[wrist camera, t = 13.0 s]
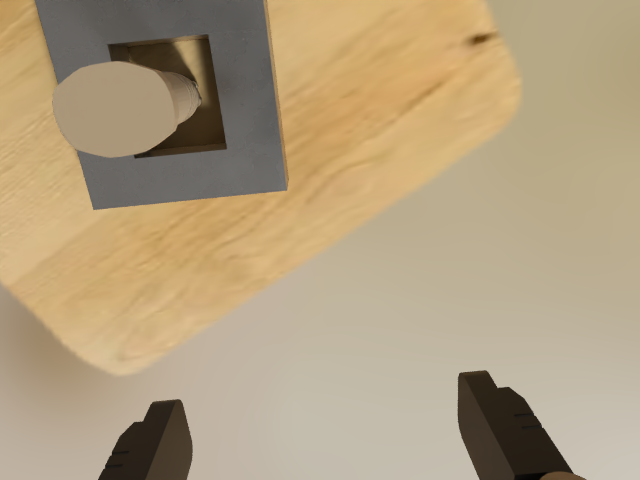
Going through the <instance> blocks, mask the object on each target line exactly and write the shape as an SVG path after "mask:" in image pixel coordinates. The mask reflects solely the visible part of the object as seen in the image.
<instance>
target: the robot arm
mask: <svg viewBox="0 0 640 480" xmlns="http://www.w3.org/2000/svg"><path fill="white" fill-rule="evenodd" d="M458 423H459V429H460V433H461V436H462V439H463V441H464V444H465V446H466V449H467V451H468V453H469V456H470V458H471V460H472V463H473V465H474V468H475V470H476V472H477V475H478V477H479V479H480V480H586V479H585V478H582V477H580V476H578V475H575V474H574V473H573V472H572V470H571V469H570V467H569V466H568V464H567V463H566V461H565V460H564V458H563V457H562V455H561V454H560V452H559V451H558V449H557V447H556V446H555V444H554V443H553V441H552V440H551V438H550V437H549V435H548V434H547V432H546V431H545V429H544V428H542V425H541V423H540V422H539V420H538V419H537V417H536V416H534V413H533V411H532V410H531V408H530V407H529V405H528V404H527V402H526V401H525V399H524V398H523V397H521V396H520V395H518V394H517V393H516V392H515V391H513V390H512V389H511V388H509V387H504V388H497V386H496V384H495V383H494V381H493V379H492V378H491V376H490V374H489V373H488V372H487V371H485V370H484V371H474V372H463V373H460V374H459V377H458ZM191 461H192V440H191V435H190V431H189V427H188V423H187V419H186V415H185V411H184V407H183V403H182V402H181V400H179V399H177V400H167V401H156V402H153V403H152V404H151V405H150V407H149V410H148V412H147V414H146V416H145V418H144V421H142V422H134V423H133V424H132V425H131V426H130V427H129V428H128V429H127V430H126V431H125V432H124V433H123V434H122V435H121V436H120V437H119V439H118V441H117V443H116V445H115V447H114V449H113V451H112V456H110V457H109V459H108V461H107V463H106V465H105V469H103V471H102V473H101V475H100V477H99V479H98V480H187V476H188V473H189V469H190V466H191Z"/></svg>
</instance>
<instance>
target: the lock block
mask: <svg viewBox="0 0 640 480" xmlns="http://www.w3.org/2000/svg"><path fill="white" fill-rule="evenodd" d="M35 3H36V6H37V10H38V14H39V17H40V21H41V24H42V28H43V31H44V35H45V39H46V42H47V46H48V49H49V53H50V56H51V60H52V63H53V67H54V71H55V74H56V78H57V81H58V85H59V84H60V83H61V82H62V81H64V80H65V79H66V78H67V77H68V76H70V75H71V74H72V73H73V72H75V71H77V70H78V69H80V68H82V67H86V66H89V65H94V64H100V63H105V62H113V61H126V62H131V61H130V57H129V53H128V48H127V47H129V46H138V45H148V44H158V43H168V42H177V41H187V40H197V39H207V38H209V42H210V48H211V54H212V60H213V66H214V72H215V78H216V85H217V91H218V97H219V103H220V109H221V115H222V121H223V127H224V133H225V139H226V143H217V144H207V145H198V146H188V147H178V148H168V149H158V150H148V151H145V152H142V153H138V154H134V155H128V156H122V157H112V158H109V157H102V156H98V155H94V154H90V153H86V152H83V151H79V150H77V152H78V156H79V160H80V163H81V167H82V170H83V174H84V177H85V181H86V184H87V188H88V192H89V195H90V199H91V202H92V206H93V209H94V210H97V209H107V208H117V207H127V206H137V205H147V204H157V203H167V202H177V201H187V200H197V199H207V198H217V197H226V196H236V195H246V194H256V193H266V192H276V191H286V190H287V187H288V180H289V178H288V170H287V162H286V154H285V145H284V137H283V129H282V121H281V112H280V104H279V96H278V88H277V79H276V71H275V63H274V55H273V47H272V38H271V30H270V22H269V14H268V5H267V0H35Z"/></svg>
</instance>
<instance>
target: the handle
mask: <svg viewBox="0 0 640 480" xmlns="http://www.w3.org/2000/svg"><path fill="white" fill-rule="evenodd" d="M198 87H199V86H198V84H197V83H196V82H195V81H191V80H190V79H188V78H187V77H185V76H184V75H181V74H179V73H174V72H166V71H159V70H155V69H152V68H149V67H146V66H143V65H139V64H135V63H131V62H126V61H113V62H105V63H100V64H94V65H89V66H86V67H82V68H80V69H78V70H77V71H75V72H73V73H72V74H71V75H70V76H68V77H67V78H66V79H65V80H64V81H62V82H61V83H60V84H59V85H58V86H57V87H56V88H55V89H54V93H53V100H52V105H53V112H54V116H55V119H56V122H57V125H58V127H59V129H60V131H61V133H62V134H63V136H64V138H65V139H66V140H67V141H68V142H69V143H70V145H72V146H73V147H74V148H75V149H76V150H79V151H83V152H86V153H90V154H94V155H98V156H102V157H109V158H112V157H122V156H128V155H134V154H138V153H142V152H145V151H148V150H150V149H151V148H153V147H154V146H156V145H158V144H159V143H160V142H162V141H163V140H164V139H166V138H167V137H168V136H170V135H171V134H172V133H173V132H174V131H176V128H177V125H178V124H180V123H182V122H184V121H185V120H187V119H188V118H189V117H191V116H192V115H193V113H194V112H195V111H196V109H197V106H199V105H200V104H201V101H202V98H201V97H200V96H199V93H198Z"/></svg>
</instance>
